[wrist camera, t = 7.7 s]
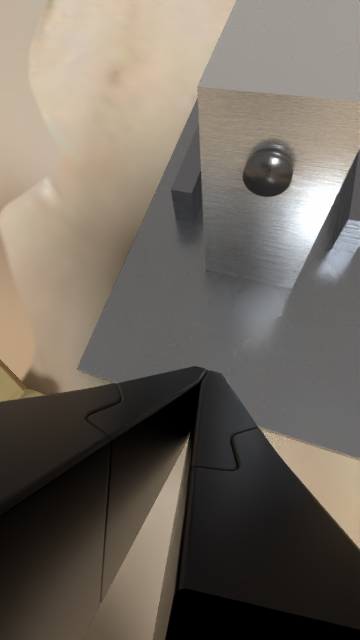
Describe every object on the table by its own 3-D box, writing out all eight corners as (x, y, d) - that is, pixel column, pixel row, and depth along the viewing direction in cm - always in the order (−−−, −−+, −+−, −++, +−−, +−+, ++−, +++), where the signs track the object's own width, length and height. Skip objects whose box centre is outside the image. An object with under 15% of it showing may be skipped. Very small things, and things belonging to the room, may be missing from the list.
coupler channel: (369, 463, 17) (411, 466, 13) (83, 372, 21) (55, 356, 17) (400, 110, 27) (429, 57, 24) (205, 91, 31) (204, 43, 28)
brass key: (65, 412, 20) (56, 410, 19) (30, 451, 19) (19, 451, 18) (-2, 344, 22) (-13, 339, 21) (-35, 377, 22) (-48, 372, 21)
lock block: (290, 294, 20) (379, 114, 9) (203, 275, 22) (193, 95, 11) (324, 135, 26) (406, -99, 15) (252, 127, 27) (279, -95, 16)
